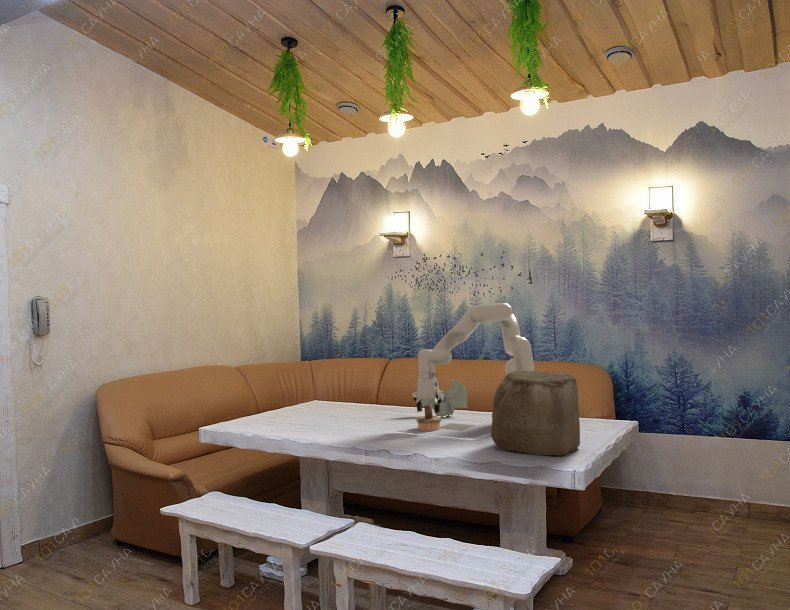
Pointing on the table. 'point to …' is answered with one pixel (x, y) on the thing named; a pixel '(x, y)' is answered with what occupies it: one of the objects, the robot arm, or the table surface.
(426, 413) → the lid
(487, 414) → the table surface
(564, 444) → the stone block
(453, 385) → the bracket
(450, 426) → the trivet
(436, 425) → the bowl
